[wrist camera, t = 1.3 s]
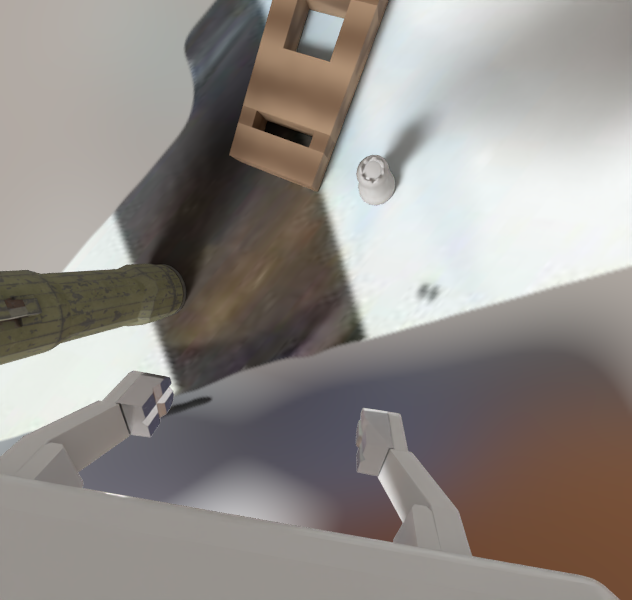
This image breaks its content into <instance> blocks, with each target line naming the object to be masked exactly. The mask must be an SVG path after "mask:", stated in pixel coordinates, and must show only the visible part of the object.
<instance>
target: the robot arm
mask: <svg viewBox="0 0 632 600" xmlns="http://www.w3.org/2000/svg"><path fill="white" fill-rule="evenodd" d="M170 385H171V379H170V377H166V376H160V375H155V374H150V373H144V372H138V371H132V372H130V373H128V374H127V376H126V377H125V378H124V379H123V380H122V381H121V382H120V383H119V384H118V385H117V386H116V387H115V388H114V389H113V390H112V391H111V392H110V393H109V394H108V395H107V396H106V397H105V398H104V400H103V401H96V402H94V403H92V404H90V405H88V406H86V407H84V408H82V409H80V410H78V411H75V412H73V413H71V414H69V415H67V416H65V417H63V418H61V419H59V420H57V421H54V422H52V423H50V424H48V425H46V426H44V427H42V428H40V429H38V430H36V431H33V432H31V433H29V434H27V435H25V436H23V437H22V438H21V439H20V440H19V441H18V442H16V443H15V444H14V445H13V446H12V447H11V448H10V449H9V450H8V451H6V452H5V453H4V454H3V455H2V456H1V457H0V600H619V599H618V598H617V597H616V596H615V595H614V594H613V593H612V592H610V590H608V589H607V588H606V587H605V586H604V585H603V584H601V583H600V582H598V581H596V580H594V579H592V578H588V577H585V576H581V575H575V574H570V573H563V572H558V571H552V570H547V569H541V568H535V567H529V566H523V565H518V564H512V563H506V562H501V561H495V560H489V559H484V558H478V557H473V556H472V555H471V551H470V548H469V545H468V541H467V538H466V535H465V531H464V528H463V525H462V521H461V518H460V515H459V511H458V510H457V509H456V507H455V506H454V505H453V503H451V501H450V500H449V499H448V497H447V496H446V495H445V494H444V492H443V491H442V490H441V488H440V487H439V486H438V485H437V483H436V482H435V481H434V480H433V478H432V477H431V476H430V475H429V473H428V472H427V471H426V470H425V469H424V467H423V466H422V464H421V463H420V462H419V461H418V459H417V458H416V457H415V456H414V454H413V453H412V452H408V448H407V444H406V438H405V433H404V429H403V423H402V418H401V415H400V414H397V413H392V412H386V411H380V410H373V409H366V408H363V409H362V411H361V420H360V421H358V425H357V431H356V445H357V447H358V448H359V449H358V452H357V455H356V457H357V472H359V473H364V474H369V475H374V476H379V477H378V478H379V480H380V482H381V483H382V485H383V487H384V489H385V491H386V493H387V495H388V496H389V498H390V500H391V502H392V504H393V505H394V507H395V509H396V511H397V513H398V515H399V517H400V518H401V520H402V522H403V524H402V526H401V527H400V529H399V531H398V533H397V534H396V536H395V538H394V540H393V541H394V543H392V542H387V541H381V540H375V539H369V538H364V537H358V536H352V535H346V534H341V533H335V532H330V531H324V530H318V529H312V528H307V527H301V526H296V525H289V524H284V523H278V522H272V521H267V520H261V519H256V518H250V517H244V516H239V515H233V514H227V513H222V512H216V511H210V510H204V509H199V508H193V507H187V506H182V505H176V504H170V503H165V502H159V501H153V500H147V499H141V498H136V497H130V496H124V495H119V494H113V493H107V492H102V491H96V490H90V489H84V488H82V487H83V480H82V479H81V477H80V475H79V473H78V472H79V471H81V470H82V469H83V468H85V467H86V466H88V465H89V464H91V463H92V462H93V461H95V460H96V459H98V458H99V457H100V456H102V455H103V454H105V453H106V452H108V451H109V450H110V449H112V448H113V447H114V446H116V445H117V444H119V443H120V442H122V441H123V440H124V439H126V438H127V437H128V436H130V435H137V436H144V437H151V436H152V434H153V433H154V432H155V430H156V429H157V427H158V426H159V424H160V417H162V416H163V415H165V414H167V412H168V411H169V409H170V408H171V405H172V403H173V398H174V393H173V390H172V389H171V388H170V387H169V386H170ZM129 434H130V435H129Z"/></svg>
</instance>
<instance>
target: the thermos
mask: <svg viewBox="0 0 632 600" xmlns="http://www.w3.org/2000/svg"><path fill="white" fill-rule="evenodd" d="M185 300H186V287H185V283H184V281H183V278H182V277H181V275H180V274H179V273H178V271H177V270H175V269H174V268H173V267H171V266H169V265H166V264H155V265H153V264H132V265H125V266H123V267H121V268H119V269H112V270H96V271H80V272H63V273H47V274H39V273H36V272H32V271H29V270H20V271H0V365H2V364H5V363H9V362H12V361H16V360H19V359H23V358H26V357H30V356H33V355H37V354H40V353H44V352H46V351H49V350H51V349H53V348H54V347H56V346H57V345H59V344H60V343H63V342H67V341H71V340H74V339H78V338H82V337H85V336H89V335H93V334H96V333H100V332H104V331H107V330H111V329H115V328H118V327H122V326H135V325H143V324H147V323H150V322H154V321H157V320H160V319H163V318H165V317H166V316H171V315H174V314H176V313H178V312H179V311H180V310H181V309H182V307H183V305H184V303H185Z"/></svg>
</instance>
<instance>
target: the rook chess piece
mask: <svg viewBox="0 0 632 600" xmlns="http://www.w3.org/2000/svg"><path fill="white" fill-rule="evenodd" d="M356 174H357V180H358V182H359V185H358V189H359V194H360V196H361V198H362V199H363V201H364V202H366V203H368V204H369V205H376V206H377V205H380V204H384V203H385V202H386V201H388V200H389V199H390V198H391V196H392V195H393V193H394V190H395V180H394V176H393V175H392V173H391V172H390V170H389V165H388V163H387V161H386V160H385V159H384V158H383V157H381V156H379V155H371V156H368V157H366V158H365V159H363V160H362V161H361V162H360V164H359V166H358V168H357V173H356Z"/></svg>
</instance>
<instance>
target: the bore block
mask: <svg viewBox="0 0 632 600" xmlns="http://www.w3.org/2000/svg"><path fill="white" fill-rule="evenodd" d="M388 1H389V0H272V4H271V7H270V11H269V14H268V18H267V22H266V25H265V29H264V32H263V36H262V39H261V43H260V47H259V50H258V54H257V57H256V61H255V64H254V68H253V72H252V75H251V79H250V82H249V86H248V89H247V93H246V97H245V100H244V104H243V107H242V111H241V114H240V118H239V122H238V125H237V129H236V132H235V136H234V139H233V143H232V147H231V150H230V154H229V155H230V156H232V157H233V158H235V159H237V160H238V161H240V162H242V163H245V164H247V165H250V166H252V167H255V168H258V169H260V170H263V171H265V172H268V173H271V174H273V175H276V176H278V177H281V178H283V179H286V180H289V181H291V182H294V183H296V184H299V185H301V186H304V187H307V188H309V189H312V190H314V191H317V192H318V190H319V188H320V185H321V182H322V180H323V177H324V174H325V171H326V169H327V166H328V163H329V161H330V158H331V155H332V153H333V150H334V147H335V144H336V142H337V139H338V136H339V134H340V131H341V128H342V126H343V123H344V120H345V117H346V115H347V112H348V109H349V107H350V104H351V101H352V99H353V96H354V93H355V90H356V88H357V85H358V82H359V80H360V77H361V74H362V72H363V69H364V66H365V63H366V61H367V58H368V55H369V53H370V50H371V47H372V45H373V42H374V39H375V37H376V34H377V31H378V28H379V26H380V23H381V20H382V18H383V15H384V12H385V10H386V7H387V4H388ZM309 9H310V10H314V11H317V12H321V13H325V14H329V15H333V16H337V17H340V18H344V22H343V24H342V27H341V30H340V33H339V36H338V39H337V42H336V45H335V48H334V51H333V54H332V57H331V60H330V62H329V61H325V60H322V59H319V58H315V57H312V56H308V55H305V54H301V53H298V52H296V50H297V47H298V44H299V41H300V38H301V34H302V31H303V28H304V25H305V21H306V18H307V15H308V12H309ZM267 121H269V122H272V123H275V124H277V125H280V126H283V127H286V128H289V129H292V130H294V131H297V132H300V133H303V134H306V135H309V136H312V140H311V143H310V146H309V148H308V147H305V146H303V145H300V144H297V143H294V142H291V141H289V140H286V139H283V138H280V137H278V136H275V135H272V134H269V133H266V132H264V130H265V127H266V124H267Z"/></svg>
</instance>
